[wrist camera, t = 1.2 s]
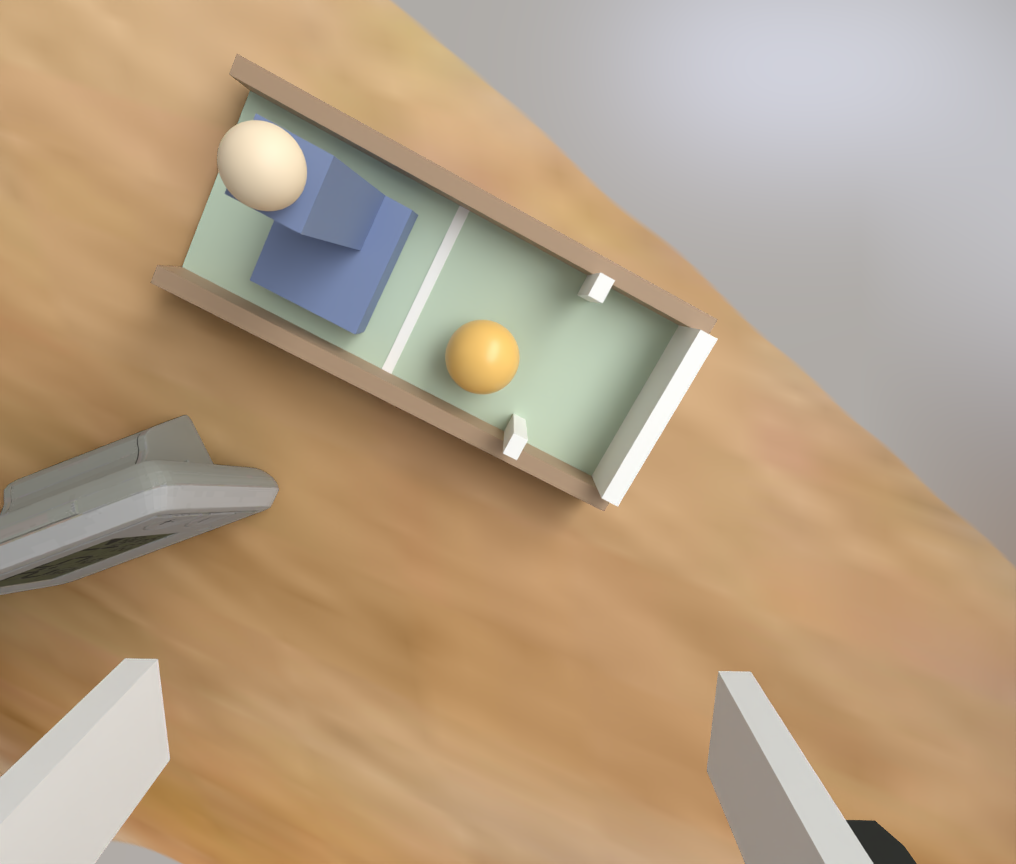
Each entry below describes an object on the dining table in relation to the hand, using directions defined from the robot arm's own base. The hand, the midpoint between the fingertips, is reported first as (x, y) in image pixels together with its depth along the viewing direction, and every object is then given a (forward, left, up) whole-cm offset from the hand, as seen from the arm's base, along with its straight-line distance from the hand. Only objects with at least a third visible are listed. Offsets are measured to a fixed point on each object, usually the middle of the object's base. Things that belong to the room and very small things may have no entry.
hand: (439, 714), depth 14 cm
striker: (-12, +7, -22) cm, 26 cm away
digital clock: (-17, -12, -24) cm, 31 cm away
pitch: (-6, +7, -23) cm, 25 cm away
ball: (-3, +6, -20) cm, 21 cm away
